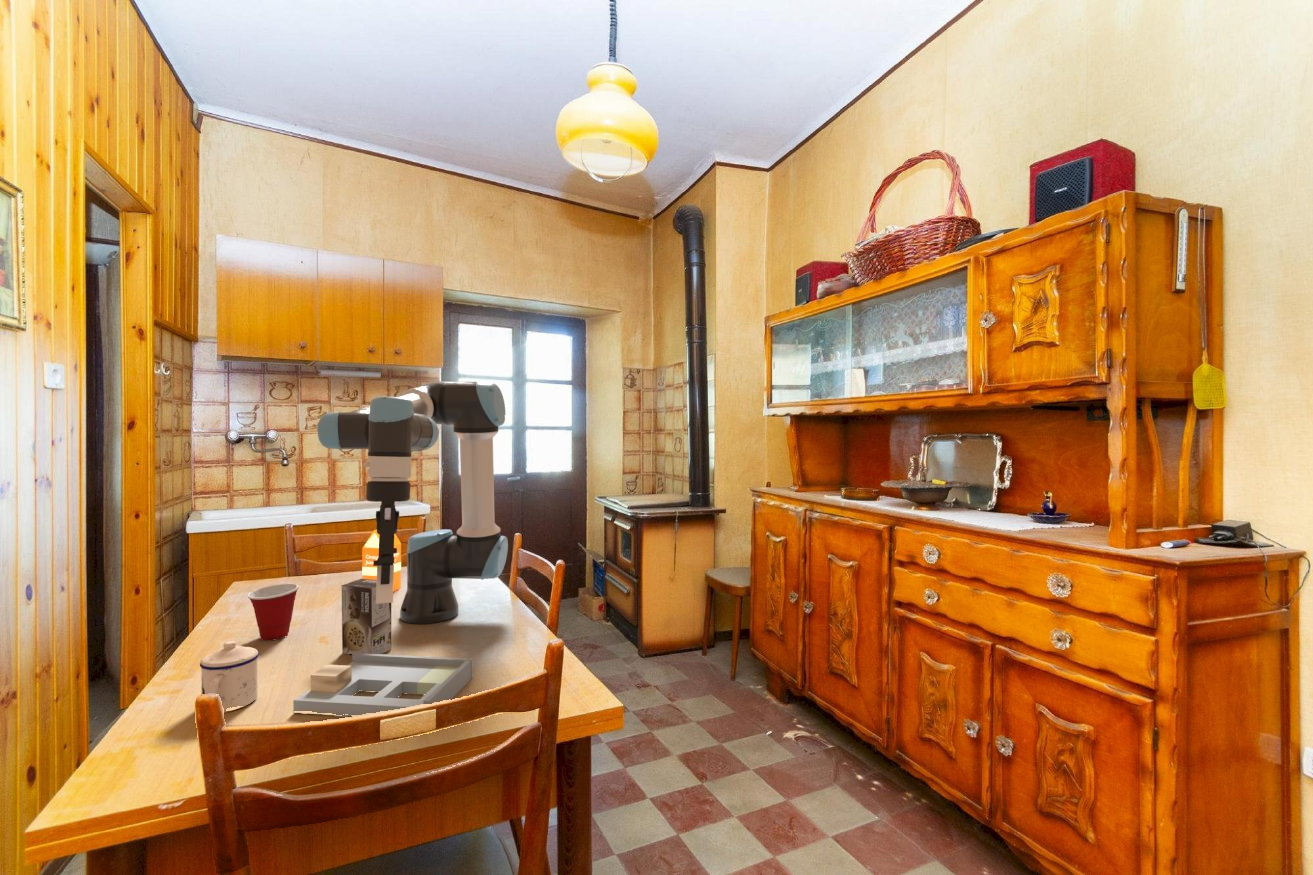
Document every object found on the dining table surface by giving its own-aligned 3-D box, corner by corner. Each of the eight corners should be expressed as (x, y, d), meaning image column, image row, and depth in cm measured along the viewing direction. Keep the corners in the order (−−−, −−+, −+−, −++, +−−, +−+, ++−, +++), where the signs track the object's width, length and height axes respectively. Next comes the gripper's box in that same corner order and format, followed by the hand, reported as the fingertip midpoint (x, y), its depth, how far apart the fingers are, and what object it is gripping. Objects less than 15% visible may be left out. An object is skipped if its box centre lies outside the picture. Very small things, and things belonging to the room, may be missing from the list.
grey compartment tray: (355, 671, 129) (355, 652, 129) (472, 677, 127) (472, 658, 126) (291, 714, 110) (291, 693, 110) (428, 723, 107) (428, 701, 107)
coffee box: (392, 649, 142) (393, 581, 142) (371, 659, 136) (371, 588, 135) (362, 644, 145) (362, 577, 145) (340, 653, 139) (340, 584, 138)
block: (327, 679, 119) (327, 664, 119) (351, 680, 118) (351, 665, 118) (310, 690, 114) (310, 674, 114) (335, 692, 114) (335, 676, 113)
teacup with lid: (213, 695, 117) (212, 635, 117) (266, 690, 119) (266, 632, 119) (182, 725, 105) (181, 659, 105) (241, 719, 108) (241, 654, 108)
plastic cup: (241, 636, 149) (241, 588, 148) (291, 626, 157) (291, 580, 156) (253, 648, 141) (253, 597, 141) (305, 636, 149) (305, 588, 149)
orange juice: (361, 594, 187) (361, 529, 186) (379, 586, 195) (379, 525, 195) (384, 595, 185) (385, 531, 185) (401, 588, 194) (401, 526, 194)
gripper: (368, 478, 122) (364, 584, 121) (363, 481, 100) (358, 611, 98) (408, 478, 125) (404, 582, 124) (412, 481, 103) (408, 607, 101)
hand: (384, 595), depth 111 cm, fingers open, 13 cm apart
